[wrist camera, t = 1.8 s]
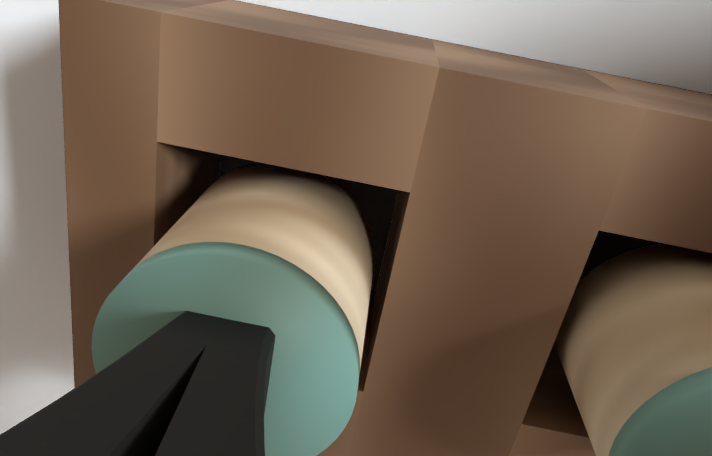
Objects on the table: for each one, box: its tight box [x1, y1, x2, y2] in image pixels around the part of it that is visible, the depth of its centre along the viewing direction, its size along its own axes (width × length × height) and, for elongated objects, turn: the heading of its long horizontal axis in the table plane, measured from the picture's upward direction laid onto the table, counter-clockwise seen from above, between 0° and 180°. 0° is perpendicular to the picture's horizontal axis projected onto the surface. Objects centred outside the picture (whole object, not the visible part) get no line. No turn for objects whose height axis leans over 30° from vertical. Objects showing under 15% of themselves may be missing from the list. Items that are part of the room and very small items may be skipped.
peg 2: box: [555, 244, 712, 456], centre depth 10 cm, size 4×4×4 cm
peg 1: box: [92, 163, 375, 456], centre depth 10 cm, size 4×4×4 cm
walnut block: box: [59, 0, 712, 456], centre depth 13 cm, size 16×9×4 cm, turn 79°
